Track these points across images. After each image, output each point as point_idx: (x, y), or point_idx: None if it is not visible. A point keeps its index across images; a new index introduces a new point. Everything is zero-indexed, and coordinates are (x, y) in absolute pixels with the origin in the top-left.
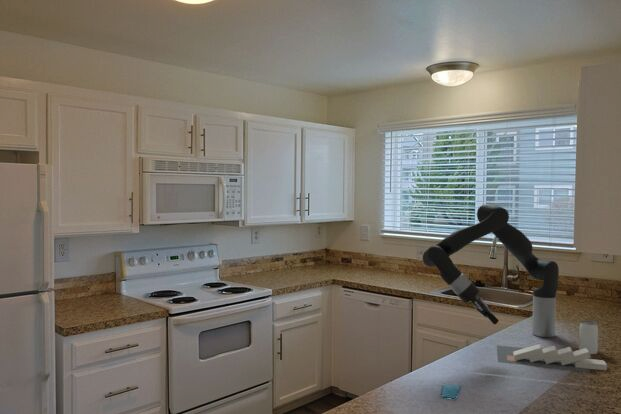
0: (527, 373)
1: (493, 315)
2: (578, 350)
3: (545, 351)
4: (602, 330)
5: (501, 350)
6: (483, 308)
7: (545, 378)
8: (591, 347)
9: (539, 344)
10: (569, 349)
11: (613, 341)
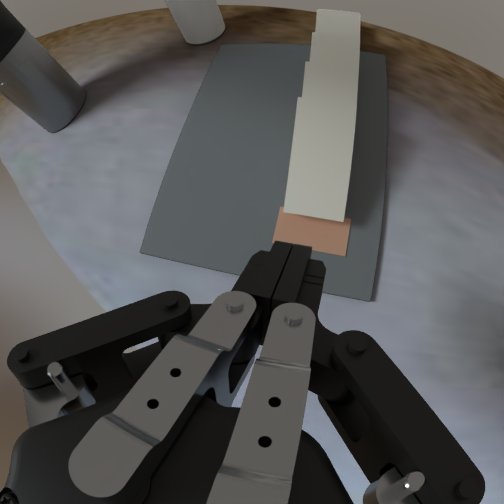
0: (456, 215)
1: (299, 287)
2: (319, 26)
3: (345, 100)
4: (77, 34)
5: (204, 248)
6: (458, 458)
7: (479, 174)
8: (220, 15)
9: (303, 98)
10: (339, 39)
11: (135, 13)
